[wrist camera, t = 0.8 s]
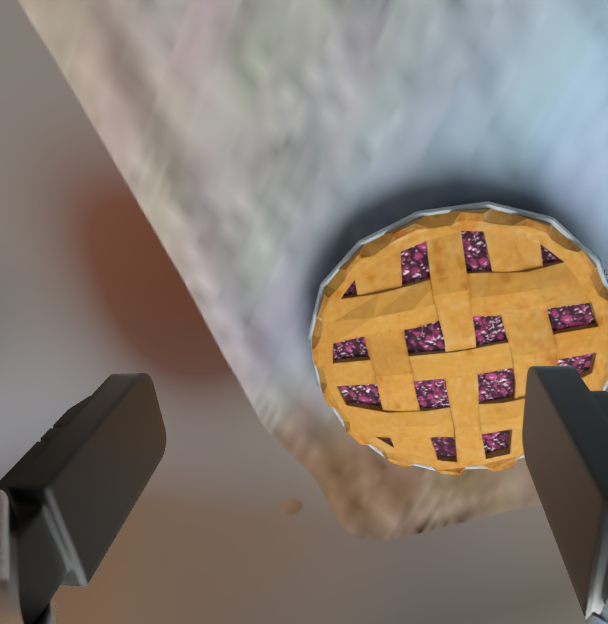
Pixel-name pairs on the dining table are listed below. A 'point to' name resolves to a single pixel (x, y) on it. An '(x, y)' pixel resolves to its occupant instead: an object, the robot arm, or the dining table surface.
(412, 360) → the pie
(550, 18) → the dining table surface
